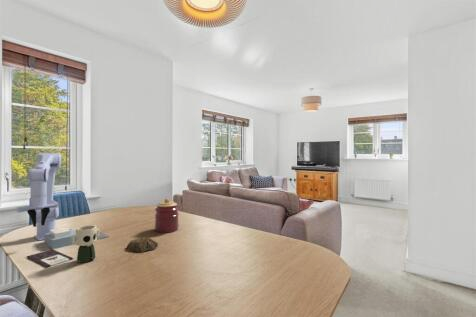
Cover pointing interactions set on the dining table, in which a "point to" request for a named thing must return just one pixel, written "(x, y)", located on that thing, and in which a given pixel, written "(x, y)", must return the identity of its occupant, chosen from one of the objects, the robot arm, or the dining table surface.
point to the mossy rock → (142, 244)
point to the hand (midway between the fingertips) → (38, 225)
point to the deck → (59, 240)
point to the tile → (59, 232)
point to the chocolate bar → (49, 258)
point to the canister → (166, 216)
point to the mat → (102, 236)
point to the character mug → (86, 242)
